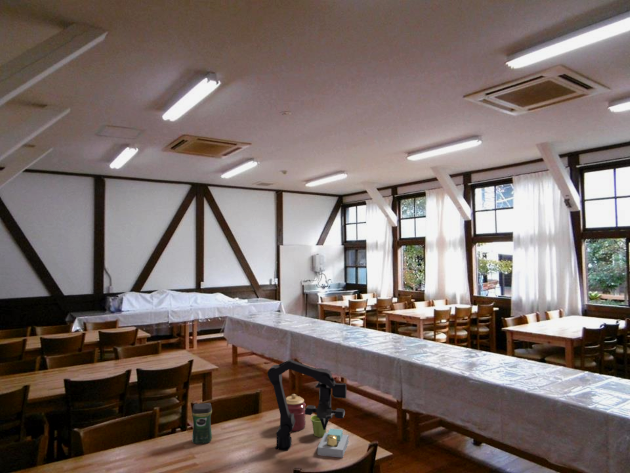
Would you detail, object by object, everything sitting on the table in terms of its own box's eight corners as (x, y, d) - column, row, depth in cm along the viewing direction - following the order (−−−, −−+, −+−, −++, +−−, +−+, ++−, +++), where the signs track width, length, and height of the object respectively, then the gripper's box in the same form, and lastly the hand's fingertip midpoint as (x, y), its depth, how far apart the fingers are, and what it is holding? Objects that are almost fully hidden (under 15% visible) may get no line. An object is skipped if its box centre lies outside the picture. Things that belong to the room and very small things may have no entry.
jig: (317, 454, 203) (317, 447, 203) (325, 439, 219) (325, 432, 219) (342, 457, 200) (342, 450, 200) (348, 442, 216) (348, 434, 216)
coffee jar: (212, 437, 222) (212, 400, 223) (211, 443, 214) (211, 406, 215) (193, 438, 220) (193, 401, 221) (190, 445, 213) (191, 407, 213)
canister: (279, 423, 240) (279, 391, 240) (301, 420, 243) (302, 389, 244) (284, 433, 227) (285, 399, 228) (308, 430, 231) (308, 396, 232)
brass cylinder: (326, 453, 204) (326, 438, 205) (328, 449, 209) (328, 434, 209) (335, 454, 203) (335, 439, 204) (337, 450, 208) (337, 435, 208)
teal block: (327, 439, 211) (327, 434, 211) (330, 433, 218) (330, 428, 218) (340, 440, 209) (340, 435, 209) (342, 434, 216) (342, 429, 216)
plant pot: (313, 439, 219) (313, 422, 219) (308, 432, 228) (308, 415, 228) (330, 437, 222) (330, 420, 222) (325, 430, 231) (325, 413, 231)
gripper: (302, 400, 203) (301, 434, 203) (341, 404, 199) (340, 438, 198) (308, 393, 214) (307, 425, 213) (345, 396, 209) (344, 429, 209)
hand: (324, 429), depth 208 cm, fingers closed
